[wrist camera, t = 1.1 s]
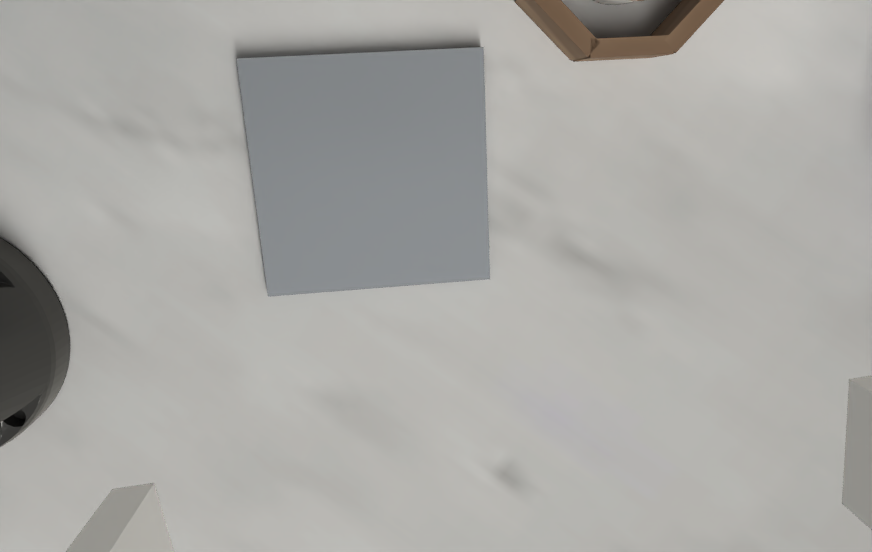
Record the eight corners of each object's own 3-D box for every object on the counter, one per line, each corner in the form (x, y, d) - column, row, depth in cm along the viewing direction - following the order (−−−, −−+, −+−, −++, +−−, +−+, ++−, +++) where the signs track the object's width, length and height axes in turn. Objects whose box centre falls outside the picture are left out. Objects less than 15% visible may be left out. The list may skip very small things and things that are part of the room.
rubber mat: (270, 292, 39) (268, 296, 38) (239, 59, 35) (236, 58, 34) (487, 275, 40) (489, 279, 39) (481, 48, 36) (483, 46, 35)
